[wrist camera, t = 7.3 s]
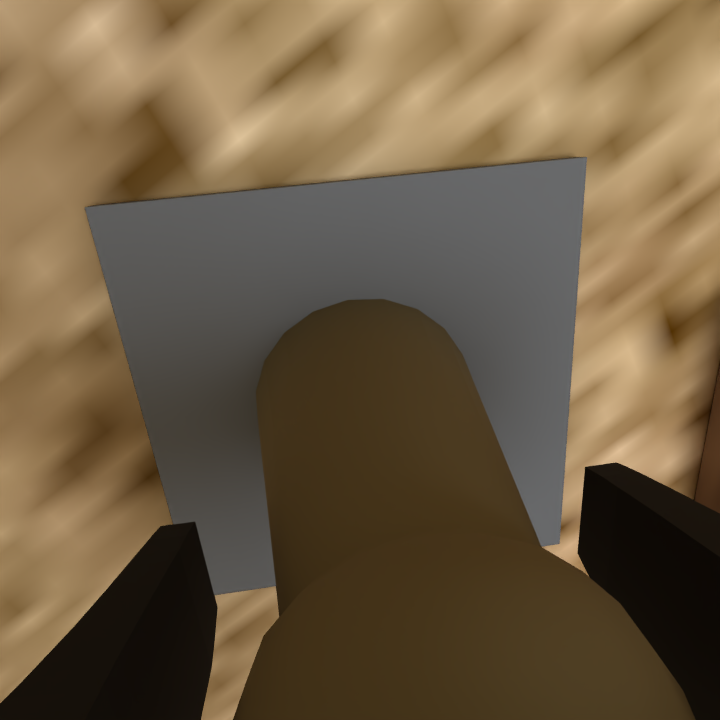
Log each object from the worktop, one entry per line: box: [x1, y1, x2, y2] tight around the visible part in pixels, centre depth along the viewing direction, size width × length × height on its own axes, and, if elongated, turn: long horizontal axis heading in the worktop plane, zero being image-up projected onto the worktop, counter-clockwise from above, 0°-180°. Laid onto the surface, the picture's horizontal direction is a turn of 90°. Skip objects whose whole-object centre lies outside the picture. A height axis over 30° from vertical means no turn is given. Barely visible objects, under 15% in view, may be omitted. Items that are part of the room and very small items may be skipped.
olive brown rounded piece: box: [233, 299, 696, 720], centre depth 9 cm, size 6×6×11 cm
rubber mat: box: [85, 157, 587, 595], centre depth 15 cm, size 12×12×1 cm
